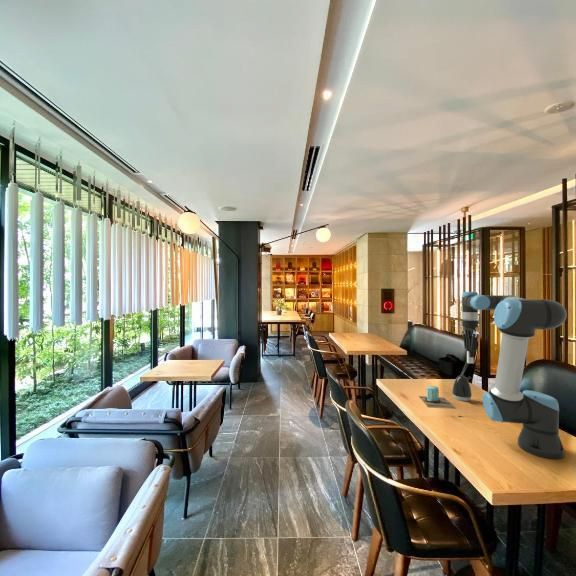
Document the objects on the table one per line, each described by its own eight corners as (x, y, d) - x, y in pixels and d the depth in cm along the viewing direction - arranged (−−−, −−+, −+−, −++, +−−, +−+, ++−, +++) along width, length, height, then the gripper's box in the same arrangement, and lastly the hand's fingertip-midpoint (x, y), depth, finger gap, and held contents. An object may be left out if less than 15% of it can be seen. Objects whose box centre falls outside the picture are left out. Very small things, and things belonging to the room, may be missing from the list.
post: (442, 403, 176) (442, 394, 176) (427, 402, 177) (428, 393, 177) (437, 398, 184) (437, 389, 184) (423, 398, 185) (423, 389, 185)
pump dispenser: (475, 403, 179) (475, 377, 179) (457, 403, 180) (457, 377, 180) (465, 397, 190) (466, 373, 190) (449, 397, 190) (449, 372, 190)
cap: (439, 401, 178) (439, 389, 178) (429, 400, 178) (429, 388, 178) (436, 397, 184) (436, 385, 184) (425, 397, 184) (425, 385, 184)
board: (456, 410, 169) (456, 408, 169) (428, 409, 171) (428, 407, 171) (443, 399, 187) (443, 397, 187) (418, 397, 188) (418, 396, 188)
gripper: (483, 320, 161) (484, 365, 160) (470, 319, 174) (471, 360, 173) (469, 320, 161) (469, 365, 161) (457, 318, 174) (457, 360, 174)
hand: (470, 363), depth 167 cm, fingers closed
